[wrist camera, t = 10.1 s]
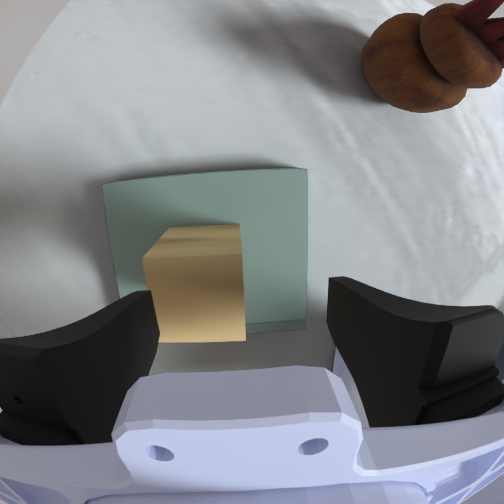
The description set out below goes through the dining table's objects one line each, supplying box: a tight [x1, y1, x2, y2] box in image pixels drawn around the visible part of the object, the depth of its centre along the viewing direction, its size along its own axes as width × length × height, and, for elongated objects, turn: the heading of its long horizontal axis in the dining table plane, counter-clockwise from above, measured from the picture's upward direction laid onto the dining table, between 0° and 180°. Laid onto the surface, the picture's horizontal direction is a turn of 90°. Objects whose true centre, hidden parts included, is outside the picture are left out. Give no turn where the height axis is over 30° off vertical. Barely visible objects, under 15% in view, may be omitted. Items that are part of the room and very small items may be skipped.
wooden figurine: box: [362, 0, 504, 113], centre depth 11 cm, size 7×6×15 cm
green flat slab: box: [102, 168, 308, 334], centre depth 20 cm, size 11×13×3 cm
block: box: [142, 224, 246, 342], centre depth 16 cm, size 4×4×6 cm
